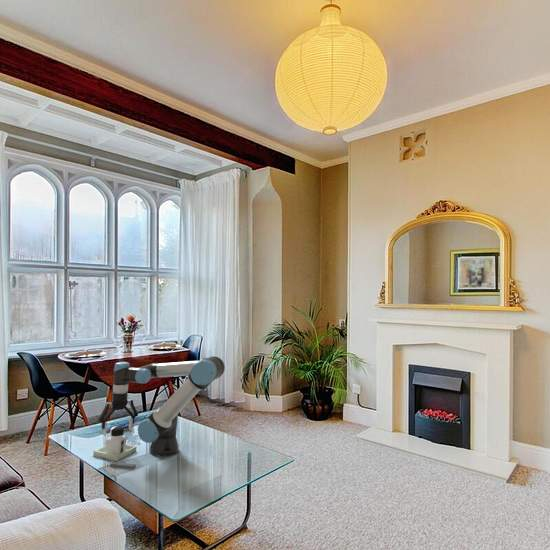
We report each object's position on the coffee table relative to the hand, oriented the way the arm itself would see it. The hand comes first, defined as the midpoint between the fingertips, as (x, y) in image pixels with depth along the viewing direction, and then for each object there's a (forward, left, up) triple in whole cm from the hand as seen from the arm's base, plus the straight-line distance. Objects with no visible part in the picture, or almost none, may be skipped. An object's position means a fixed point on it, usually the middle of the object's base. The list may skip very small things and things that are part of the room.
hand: (117, 432), depth 216 cm
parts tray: (0, 0, -11) cm, 11 cm away
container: (0, 0, -11) cm, 11 cm away
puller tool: (-14, +11, -11) cm, 21 cm away
